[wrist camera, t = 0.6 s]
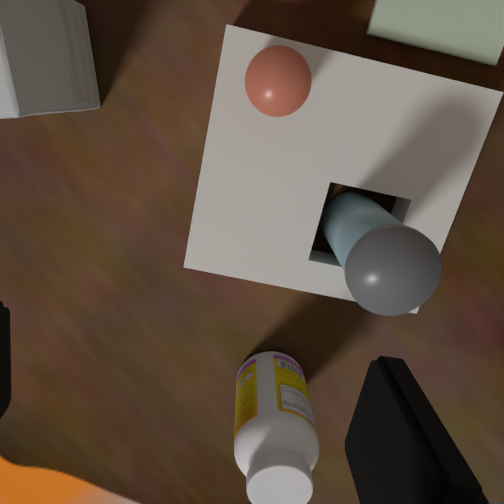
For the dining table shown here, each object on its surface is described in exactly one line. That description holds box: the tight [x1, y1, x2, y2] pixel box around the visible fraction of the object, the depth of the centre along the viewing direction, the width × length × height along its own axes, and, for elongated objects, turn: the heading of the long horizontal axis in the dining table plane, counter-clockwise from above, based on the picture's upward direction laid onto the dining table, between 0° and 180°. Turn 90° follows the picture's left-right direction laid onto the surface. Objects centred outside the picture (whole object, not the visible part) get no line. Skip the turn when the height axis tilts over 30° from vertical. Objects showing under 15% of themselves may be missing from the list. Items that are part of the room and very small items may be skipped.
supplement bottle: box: [234, 351, 319, 504], centre depth 35 cm, size 7×7×13 cm
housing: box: [184, 24, 503, 314], centre depth 34 cm, size 20×18×3 cm
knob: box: [245, 45, 312, 117], centre depth 28 cm, size 4×4×6 cm
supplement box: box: [0, 0, 101, 118], centre depth 26 cm, size 7×7×13 cm
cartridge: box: [321, 192, 442, 316], centre depth 31 cm, size 6×6×12 cm
